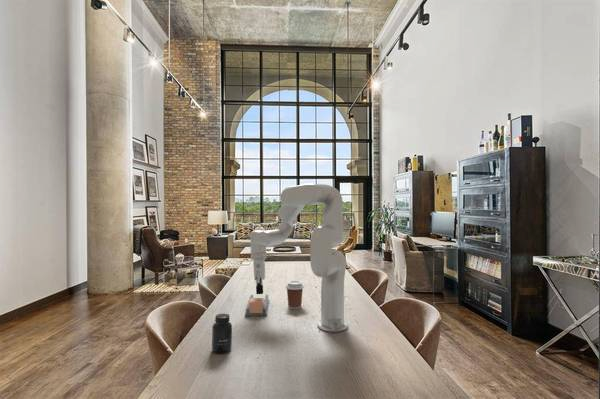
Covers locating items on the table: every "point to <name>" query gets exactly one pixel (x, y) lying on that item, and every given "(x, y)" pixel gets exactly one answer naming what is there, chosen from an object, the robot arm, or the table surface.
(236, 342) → the table surface
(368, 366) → the table surface
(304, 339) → the table surface
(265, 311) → the steel chute
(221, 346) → the supplement bottle
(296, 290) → the coffee cup
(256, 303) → the block
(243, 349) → the table surface
